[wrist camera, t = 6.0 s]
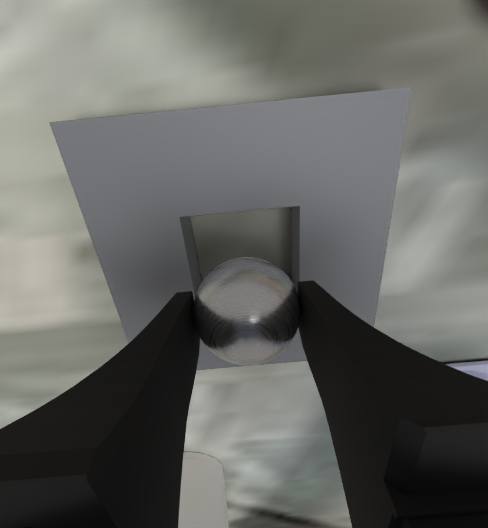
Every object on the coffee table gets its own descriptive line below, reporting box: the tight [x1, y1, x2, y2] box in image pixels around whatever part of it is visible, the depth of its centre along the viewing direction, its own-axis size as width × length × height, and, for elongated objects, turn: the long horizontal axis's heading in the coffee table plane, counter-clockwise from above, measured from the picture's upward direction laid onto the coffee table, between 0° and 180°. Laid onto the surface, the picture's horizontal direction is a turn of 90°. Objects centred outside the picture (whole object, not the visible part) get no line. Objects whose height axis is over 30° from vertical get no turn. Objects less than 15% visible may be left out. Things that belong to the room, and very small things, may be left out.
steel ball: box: [193, 257, 301, 365], centre depth 11 cm, size 4×4×4 cm
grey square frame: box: [49, 87, 412, 370], centre depth 16 cm, size 14×14×2 cm
